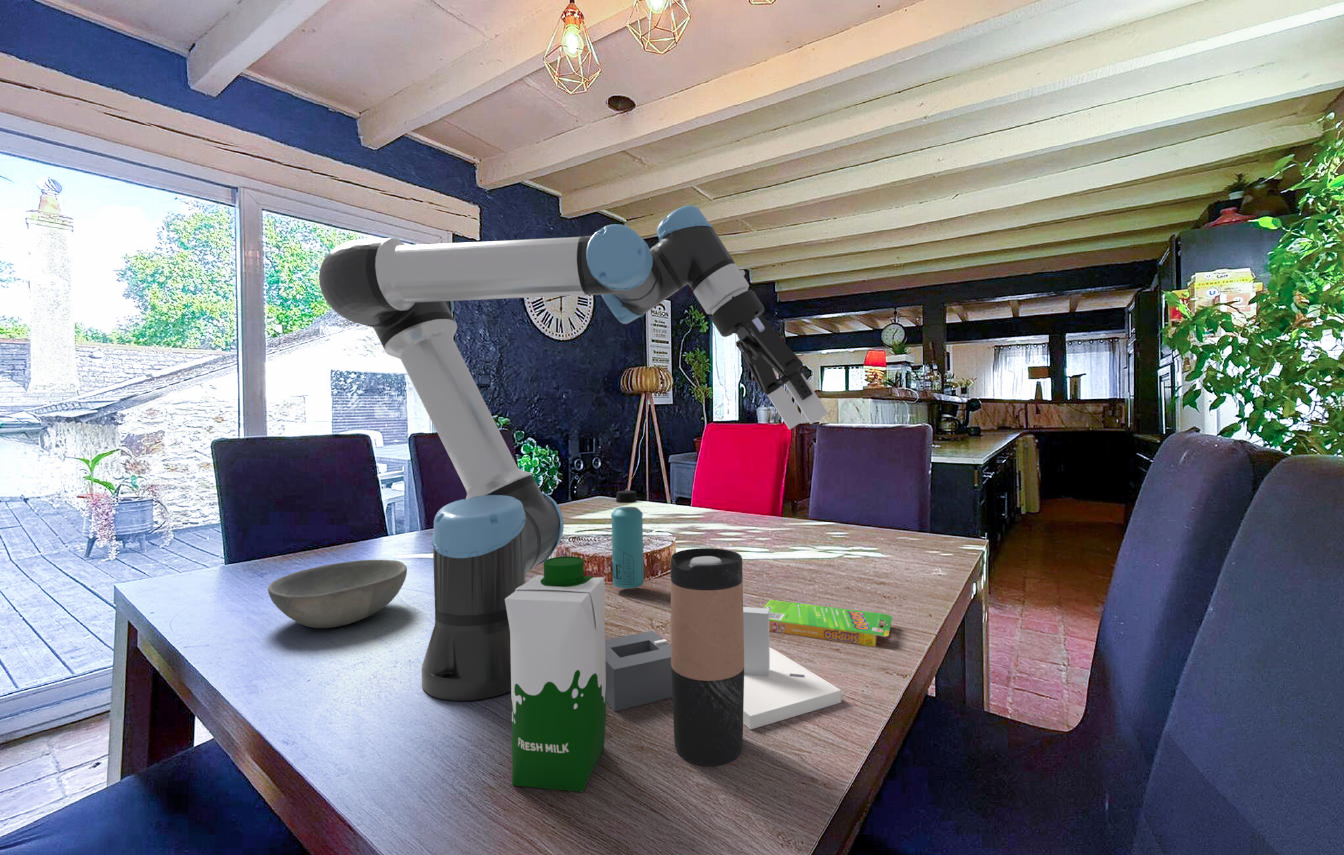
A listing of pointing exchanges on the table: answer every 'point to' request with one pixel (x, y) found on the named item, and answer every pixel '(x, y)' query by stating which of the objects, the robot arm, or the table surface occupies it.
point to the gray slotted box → (637, 670)
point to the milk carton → (557, 676)
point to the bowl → (338, 591)
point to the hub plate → (777, 678)
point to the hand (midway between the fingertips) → (807, 422)
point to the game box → (827, 622)
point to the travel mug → (707, 654)
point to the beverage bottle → (627, 543)
